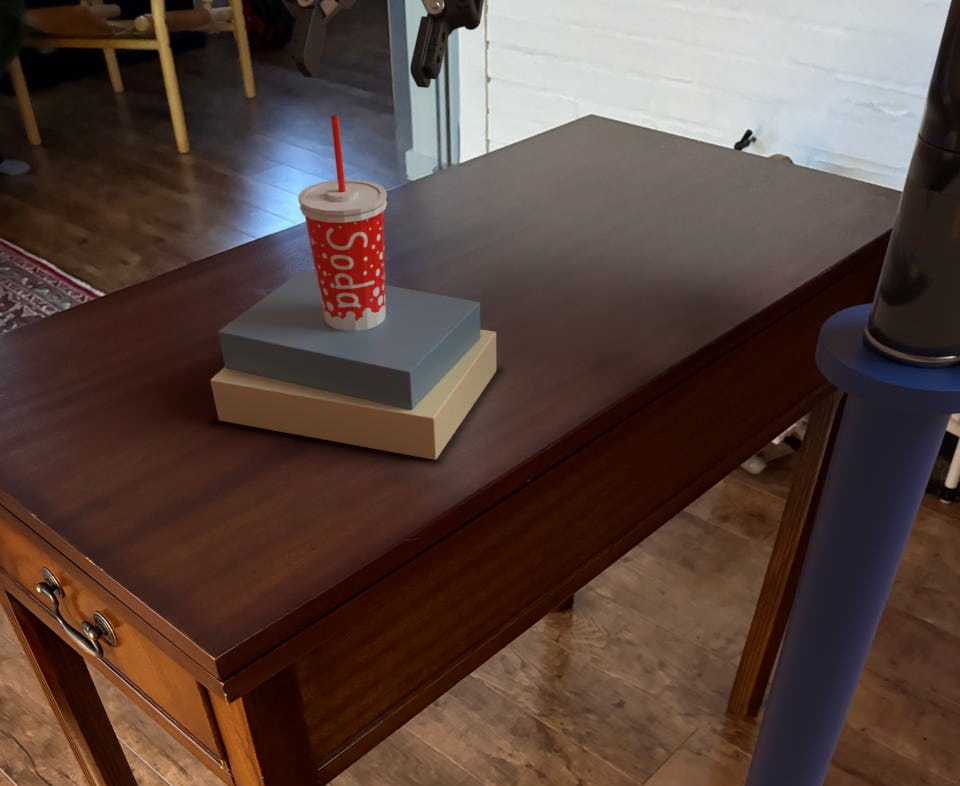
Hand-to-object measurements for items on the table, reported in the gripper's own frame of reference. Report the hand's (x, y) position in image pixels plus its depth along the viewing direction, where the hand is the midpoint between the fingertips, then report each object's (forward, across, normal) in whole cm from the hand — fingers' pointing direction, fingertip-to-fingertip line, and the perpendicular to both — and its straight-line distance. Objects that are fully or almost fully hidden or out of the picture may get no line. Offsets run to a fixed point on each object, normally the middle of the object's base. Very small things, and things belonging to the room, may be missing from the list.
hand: (361, 76), depth 69 cm
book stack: (+19, 0, +12) cm, 22 cm away
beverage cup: (+14, 0, +8) cm, 16 cm away
